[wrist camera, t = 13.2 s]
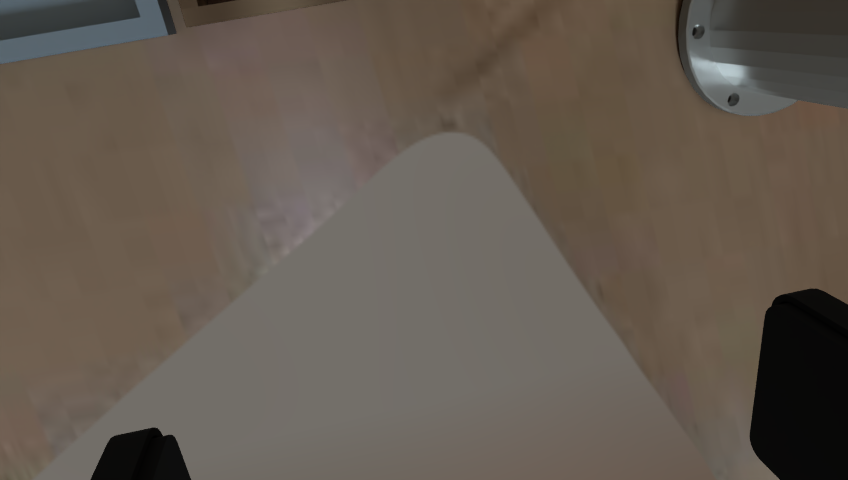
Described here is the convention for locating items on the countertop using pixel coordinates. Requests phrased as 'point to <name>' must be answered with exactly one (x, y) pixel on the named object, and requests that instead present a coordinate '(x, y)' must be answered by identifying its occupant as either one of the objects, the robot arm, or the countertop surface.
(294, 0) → the crate
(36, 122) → the countertop surface
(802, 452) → the robot arm
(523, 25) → the countertop surface
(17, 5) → the tray
